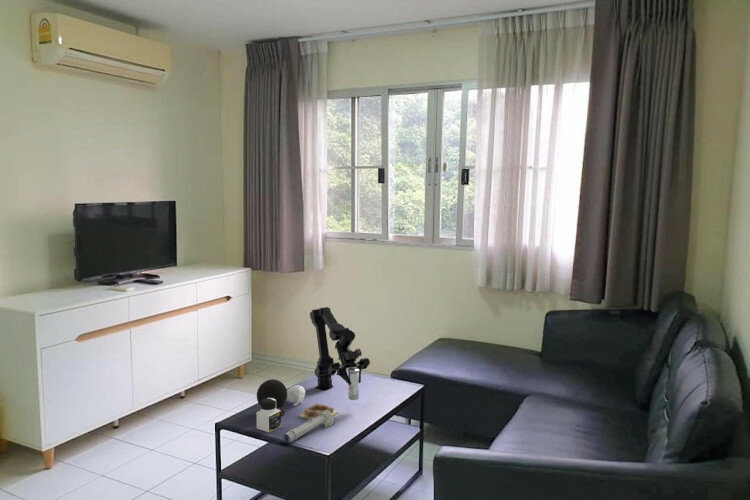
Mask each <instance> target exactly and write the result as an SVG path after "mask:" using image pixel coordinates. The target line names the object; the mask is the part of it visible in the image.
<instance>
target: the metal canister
mask: <svg viewBox="0 0 750 500" xmlns="http://www.w3.org/2000/svg"><path fill="white" fill-rule="evenodd" d="M347 369H348V371H347V374H348V377H349V380H350V383H351V384H350V385H349V384H348V383H347V384H348V387H347V388H348V389H347V393H348V395H347V397H348V400H350V401H357V400H359V398H360V397H359V395H360V383H359V369H358V368H355V367H353V368H347Z"/></svg>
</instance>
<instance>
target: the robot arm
mask: <svg viewBox="0 0 750 500" xmlns="http://www.w3.org/2000/svg"><path fill="white" fill-rule="evenodd" d="M309 318H310V320H311V323H312V325H313V326H314V327H315V331H316V340H317V341H316V342H317V347H318V354H319V357H318V360H317V362H316V367H315V370H314V376H315V377H316V378H317V386H315V389H319V390H323V391H328V390H329V389H332V388H334V385H333V379H332V376H335V374H336V376H339V377H340V378H342V379H343V380H344V381H345V382H346V383H347V384H349V385H350V384H351V383H350V380H349V377H348V371H347V369H349V368H358V369H359V384H360V383H361V382H362V378H361V377H362V370H366V369H367V368H368V367H369V366H370V364H371V360H370V359H369V358H368V357H365V358H360V357H361V356H362V350H361V348H356V349H354V351H353V350H351V348H350V347H351V345H352V344H353V342H354V340H355V338H356V333H355V332H354V331H352V330H351V329H349V327H345V326H344V325H343V324H341V323H339V322H338V320H336V317H335V316H334V315H333V313H332V311H331V308H330V307H328V306H325V307H319V308H318V309H316V308H315V309H312V310H311V311H310V313H309ZM326 326H327V328H328V329H329V332H328V335H329V338H330V339H331V340H332V341H334V342H335V341H336V342H335V345H334V348H335V350H336V351H337V355H338V361H337V362H334V361H335V360H334V358H333V357H331V355H330V352H329V344H328V337H327V336H328V335H327V331H326V330H327V329H326ZM359 358H360V359H359ZM357 359H359V360H358V361H357ZM339 361H340V362H339ZM356 361H357V362H356Z"/></svg>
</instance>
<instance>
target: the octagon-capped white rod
mask: <svg viewBox="0 0 750 500" xmlns="http://www.w3.org/2000/svg"><path fill="white" fill-rule="evenodd" d="M334 420H335V416H332V415H331V412H330V410H325V411H323V412H322V414H321V415H319V416H317V417H316V418H314V419H312V420H308V421H306V422H304V423H302V424H300V425H299V426H297V427H295V428H293V429H292V428H291V429H289V430H288V431H287V432H285V433H284V434H283V435H282V440H283V442H284V443H286V444H290V443H292V442H296V441H297V439H298V438H300V437H302V436H304V435H305V434H306V433H308V432H309V431H311V430H313V429H314V428H316V427H317V426H319V425H320V426H321V427H322V428H328V427H332V426H333V425H334Z"/></svg>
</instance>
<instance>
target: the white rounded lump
mask: <svg viewBox="0 0 750 500" xmlns="http://www.w3.org/2000/svg"><path fill="white" fill-rule="evenodd" d="M305 395H306V390H305V388H304V386H301V385H294V386H292V387H289V389H288V390H287V399H286V402H288V401H290V403H293V406H294V407H296V406H298V405H299V404H301V403H302V402H303V401H304V399H305ZM294 400H296V402H295V401H294Z"/></svg>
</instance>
